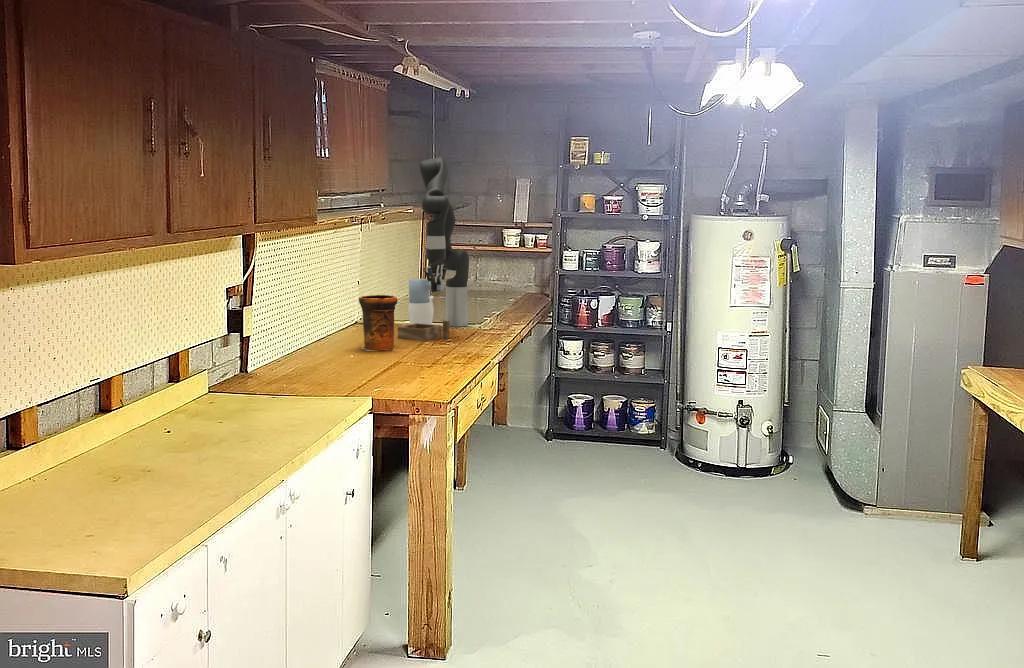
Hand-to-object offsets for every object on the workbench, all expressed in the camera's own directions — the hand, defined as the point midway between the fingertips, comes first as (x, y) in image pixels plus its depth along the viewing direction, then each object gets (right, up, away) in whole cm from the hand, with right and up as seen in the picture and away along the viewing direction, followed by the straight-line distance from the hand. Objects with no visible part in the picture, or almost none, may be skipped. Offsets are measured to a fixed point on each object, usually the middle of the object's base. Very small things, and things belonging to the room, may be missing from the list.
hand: (436, 291), depth 389 cm
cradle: (-5, -19, +5) cm, 21 cm away
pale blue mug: (-4, -4, +3) cm, 6 cm away
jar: (-8, -16, +27) cm, 32 cm away
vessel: (-20, -23, -15) cm, 34 cm away
